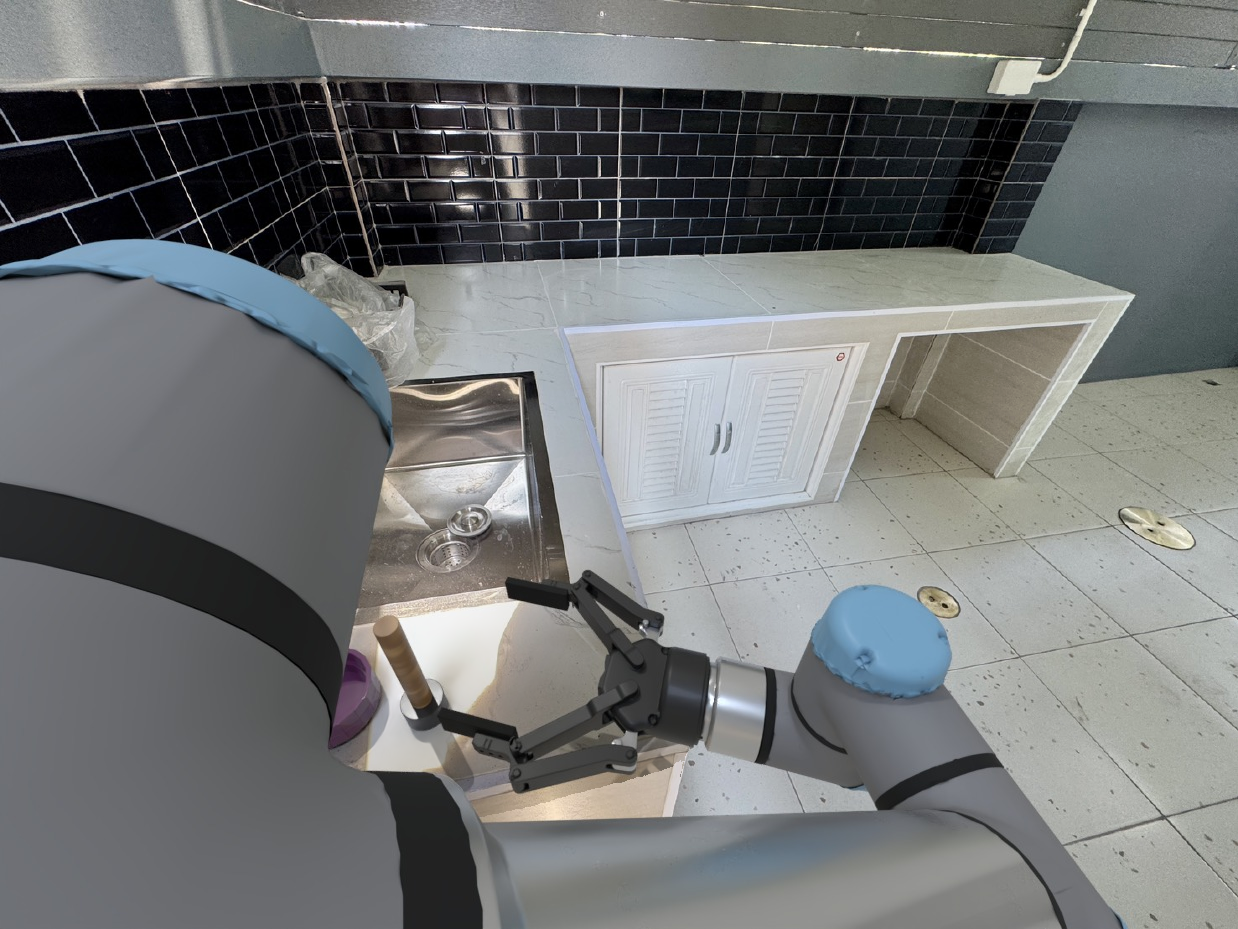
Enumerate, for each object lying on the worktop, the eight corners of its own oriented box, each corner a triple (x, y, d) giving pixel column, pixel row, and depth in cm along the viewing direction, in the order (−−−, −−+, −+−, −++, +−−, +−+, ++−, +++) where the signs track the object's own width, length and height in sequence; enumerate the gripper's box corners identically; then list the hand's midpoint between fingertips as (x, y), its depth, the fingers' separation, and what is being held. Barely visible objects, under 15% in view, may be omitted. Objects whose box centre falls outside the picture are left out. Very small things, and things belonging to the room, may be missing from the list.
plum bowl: (304, 773, 55) (287, 757, 52) (277, 702, 61) (261, 683, 58) (395, 711, 60) (385, 693, 57) (363, 650, 66) (352, 631, 63)
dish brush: (417, 740, 58) (370, 658, 46) (399, 708, 60) (351, 623, 49) (455, 712, 60) (420, 627, 49) (437, 682, 63) (399, 596, 51)
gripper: (682, 892, 36) (417, 810, 40) (714, 605, 55) (531, 568, 59) (693, 865, 32) (391, 776, 35) (724, 561, 50) (524, 523, 54)
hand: (478, 646), depth 47 cm, fingers open, 13 cm apart
